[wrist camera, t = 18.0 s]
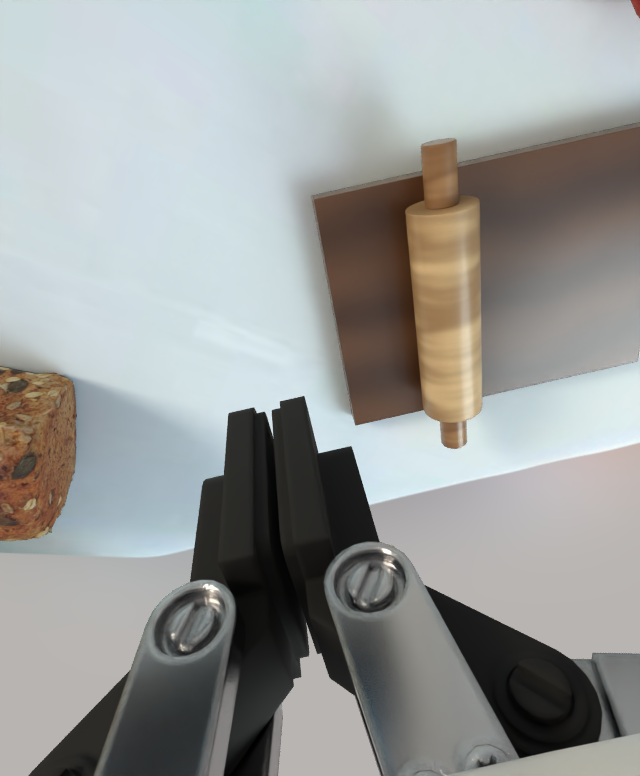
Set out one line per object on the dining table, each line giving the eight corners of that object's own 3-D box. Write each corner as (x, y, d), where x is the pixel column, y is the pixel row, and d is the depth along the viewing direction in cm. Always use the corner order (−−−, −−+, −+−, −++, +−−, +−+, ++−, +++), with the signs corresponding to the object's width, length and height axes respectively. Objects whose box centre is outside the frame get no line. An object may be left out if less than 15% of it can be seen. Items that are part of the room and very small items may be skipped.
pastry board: (311, 195, 32) (313, 199, 31) (665, 116, 32) (682, 117, 31) (352, 415, 41) (355, 425, 40) (625, 353, 41) (637, 361, 40)
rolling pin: (391, 147, 30) (411, 153, 26) (461, 131, 30) (492, 135, 26) (419, 431, 41) (436, 464, 37) (469, 419, 41) (492, 451, 37)
